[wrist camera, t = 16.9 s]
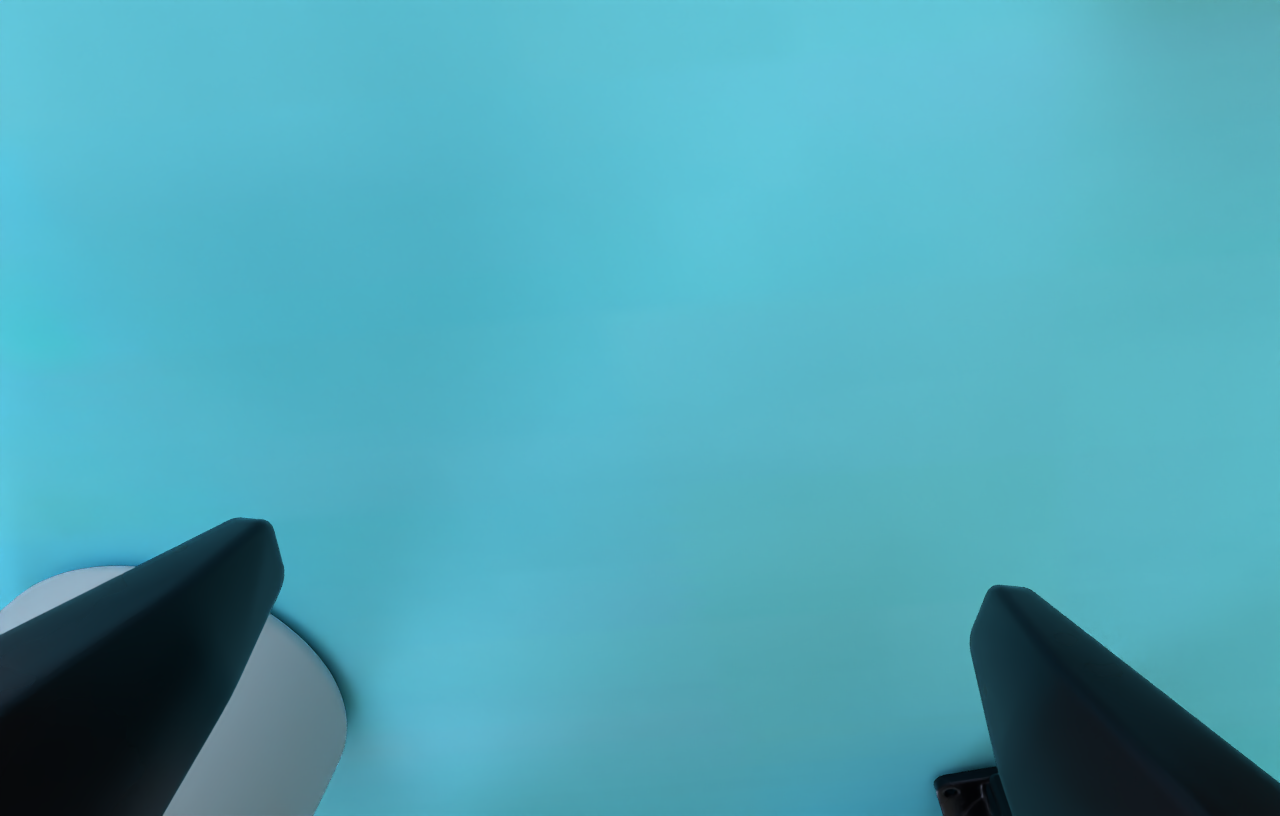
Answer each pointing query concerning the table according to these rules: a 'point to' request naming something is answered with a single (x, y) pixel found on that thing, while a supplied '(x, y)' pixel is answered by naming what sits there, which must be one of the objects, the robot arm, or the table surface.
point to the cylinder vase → (243, 718)
